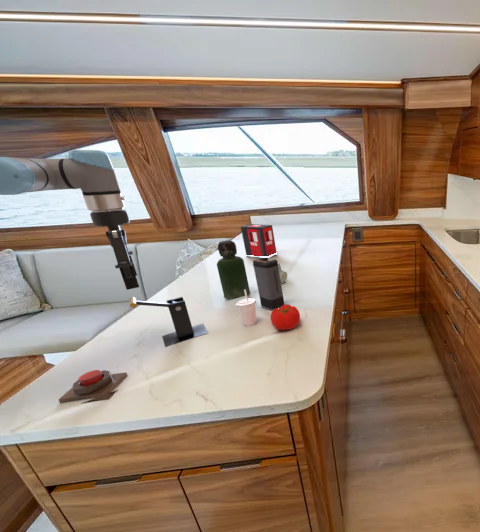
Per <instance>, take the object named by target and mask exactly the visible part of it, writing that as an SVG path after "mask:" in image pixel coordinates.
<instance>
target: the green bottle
mask: <svg viewBox="0 0 480 532" xmlns="http://www.w3.org/2000/svg"><path fill="white" fill-rule="evenodd" d="M217 250H218V254H219V256H220V257H221V258H219V260H218V261H217V262H216V268H217V272H218V277H219V281H220V284H221V289H222V293H223V298H224V299H225V300H236V299H240V298H244V297H245V292H244V290H245V289H246V293H247V296H248V295H250V293H251V290H250V285H249V280H248V275H247V271H246V265H245V261H244V259H243V257H241V256H238V255H237V254H238V253H237V252H238V250H237V245H236V243H235V241H234V240H223V241H219V242H218V244H217Z"/></svg>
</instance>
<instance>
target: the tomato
mask: <svg viewBox="0 0 480 532" xmlns="http://www.w3.org/2000/svg"><path fill="white" fill-rule="evenodd" d="M300 321H301V314H300V311H299V310H298V308H297V307H296V306H294V305H291V304H288V303H287V304H285V303H284V305H283V306H281V307H280V308H279V309H274V310H271V312H270V322H271V323H272V326H273V327H274V328H275V329H277V330H280V331H284V330H291V329H294V328H295V327H296V326H298V325H299V323H300Z"/></svg>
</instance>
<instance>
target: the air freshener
mask: <svg viewBox="0 0 480 532" xmlns="http://www.w3.org/2000/svg"><path fill="white" fill-rule="evenodd" d="M277 262H278V268H279V274H280V280H281V284H283V283H284V282H286V280H287V279H288V272H287V271H285V270H283V269H282V265H281V262H279V261H277ZM282 282H283V283H282Z"/></svg>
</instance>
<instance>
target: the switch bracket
mask: <svg viewBox="0 0 480 532" xmlns="http://www.w3.org/2000/svg"><path fill="white" fill-rule="evenodd" d="M172 301H179V302H176V303H172ZM166 303H172V304H168V307H167V308H168V311H169V314H170V317H171V321H172V324H173V327H174V330H175V331H174V332H171V333H167V334H163V335H162V336H161V337H162V340H163V345H164V347H165V348H168V347H170V346H173V345H176V344H179V343H182V342H185V341H189V340H192V339H194V338H198V337H201V336H204V335H207V334H209V331H208V329H207V328H206V326H205V324H204V323H200V324H196V325H194V326H192V321H191V319H190V315H189V311H188V308H187V304H186V301H185V300H184V298H183V296H179V297H176V298H171V299H166Z"/></svg>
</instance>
